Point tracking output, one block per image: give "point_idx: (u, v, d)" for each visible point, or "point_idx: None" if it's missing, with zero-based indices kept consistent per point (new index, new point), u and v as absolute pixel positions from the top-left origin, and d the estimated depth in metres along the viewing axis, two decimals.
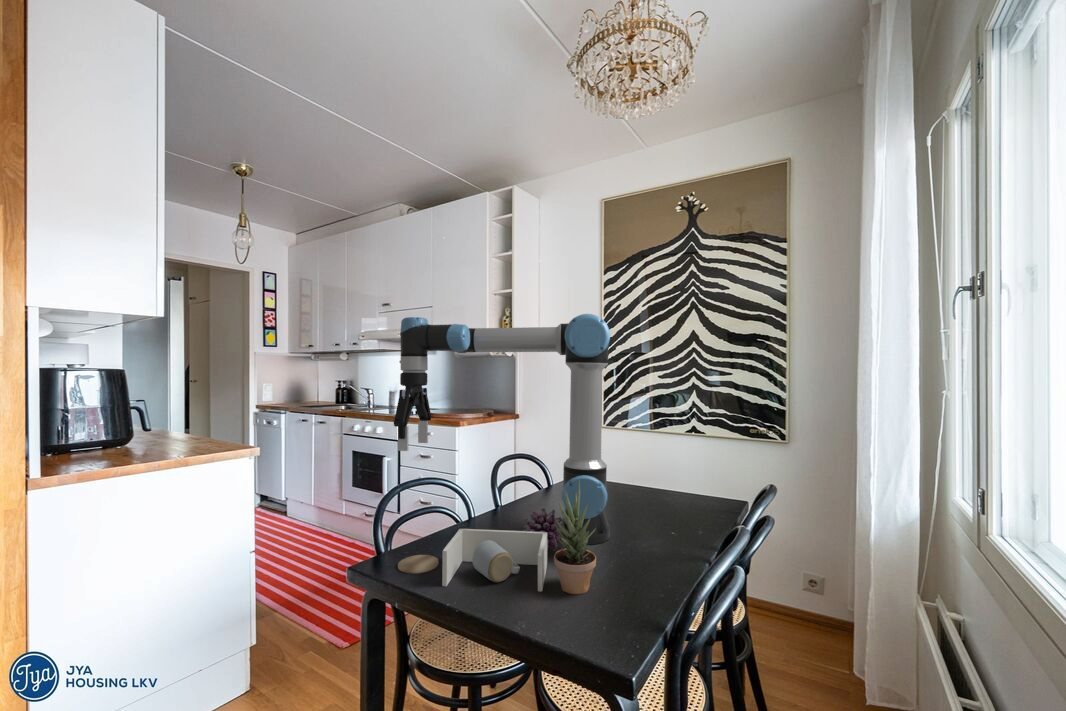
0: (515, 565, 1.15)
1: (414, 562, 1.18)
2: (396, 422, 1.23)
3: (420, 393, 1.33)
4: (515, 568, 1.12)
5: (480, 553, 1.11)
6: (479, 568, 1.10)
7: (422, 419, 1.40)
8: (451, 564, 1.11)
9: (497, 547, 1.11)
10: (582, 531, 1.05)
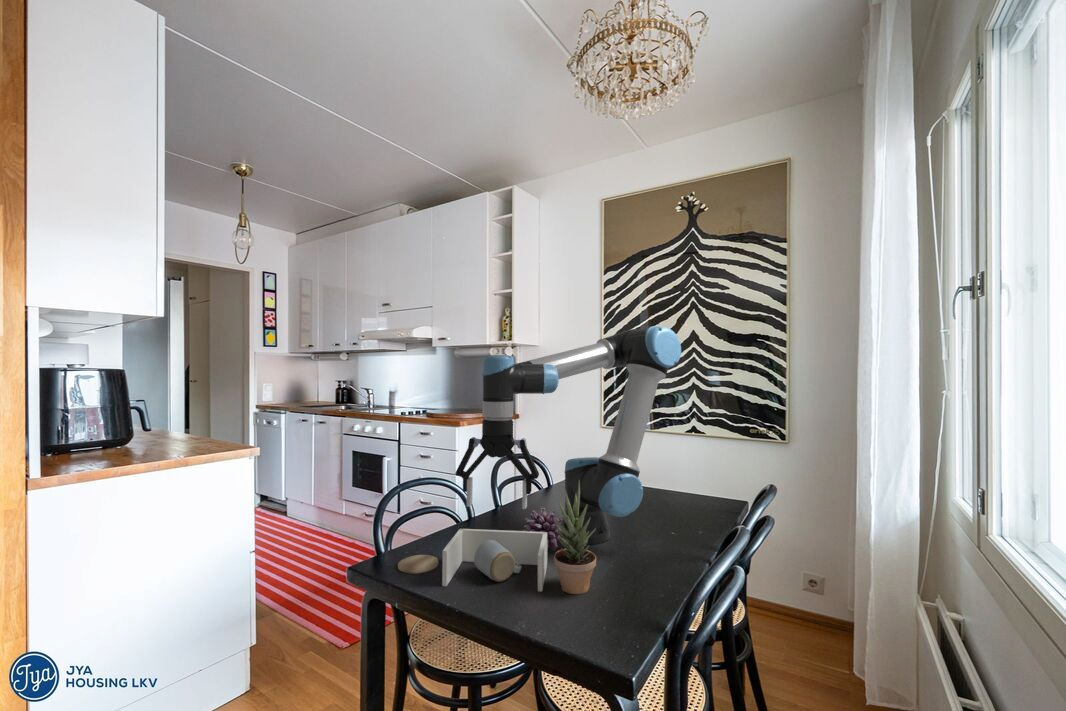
0: (517, 564, 1.16)
1: (414, 562, 1.18)
2: None
3: (499, 445, 1.12)
4: (517, 567, 1.12)
5: (482, 552, 1.11)
6: (481, 567, 1.10)
7: None
8: (451, 564, 1.11)
9: (499, 547, 1.12)
10: (582, 531, 1.05)
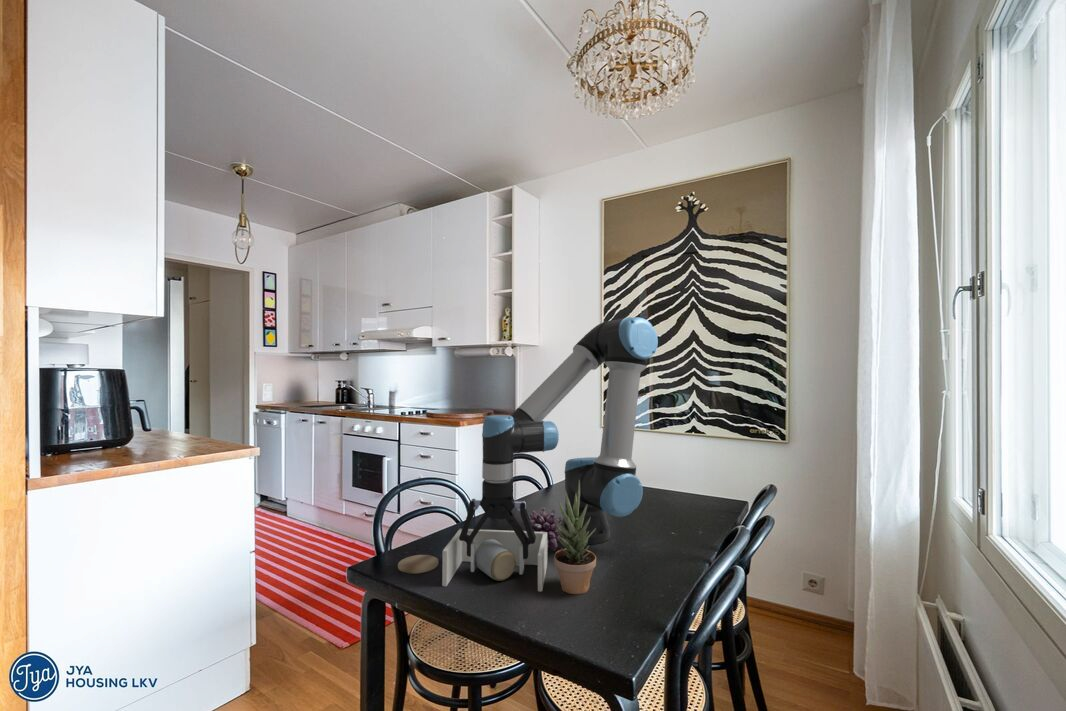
0: (517, 564, 1.16)
1: (414, 562, 1.18)
2: None
3: (499, 507, 1.11)
4: (517, 566, 1.12)
5: (483, 552, 1.11)
6: (482, 567, 1.10)
7: None
8: (451, 564, 1.11)
9: (499, 546, 1.12)
10: (582, 531, 1.05)
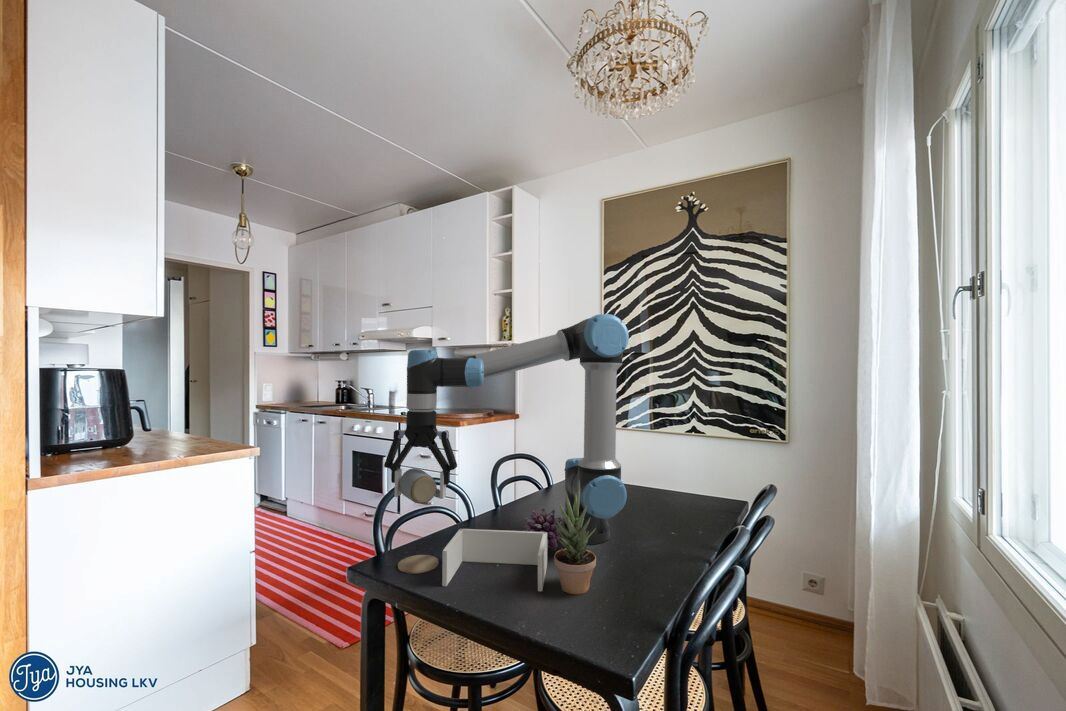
0: None
1: (414, 562, 1.18)
2: None
3: (422, 435, 1.17)
4: (439, 492, 1.18)
5: (405, 478, 1.17)
6: (404, 491, 1.16)
7: None
8: (451, 564, 1.11)
9: (422, 472, 1.18)
10: (582, 531, 1.05)
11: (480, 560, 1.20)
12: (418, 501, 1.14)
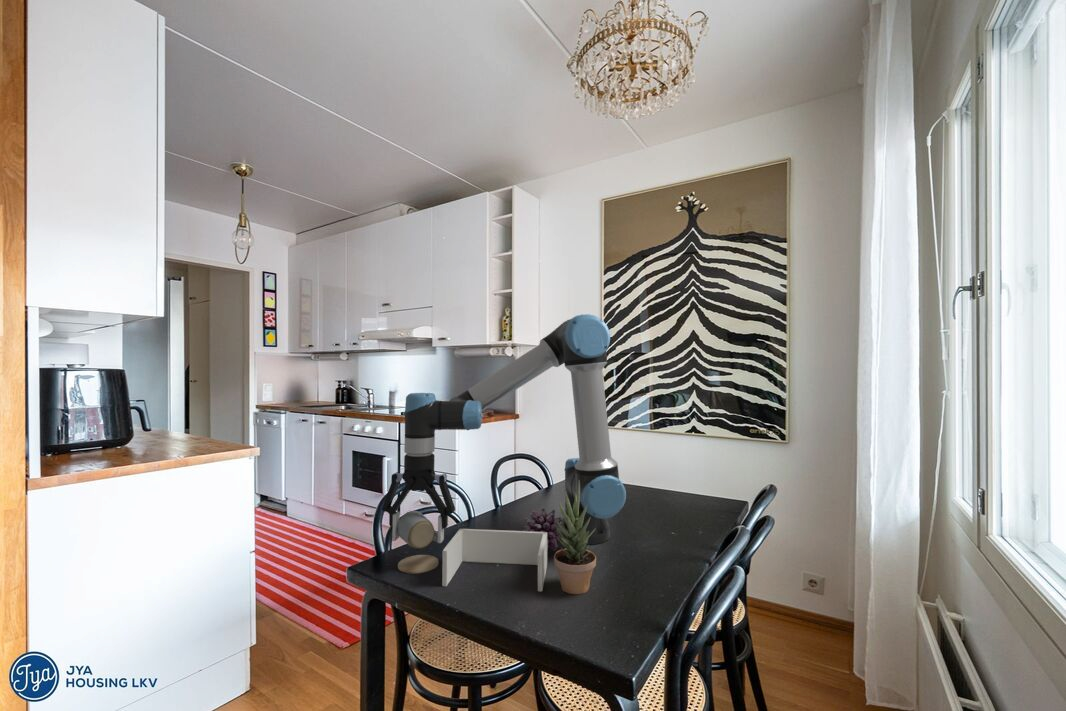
0: None
1: (414, 562, 1.18)
2: None
3: (420, 479, 1.17)
4: (437, 536, 1.18)
5: (403, 522, 1.17)
6: (402, 536, 1.16)
7: None
8: (451, 564, 1.11)
9: (420, 516, 1.18)
10: (582, 531, 1.05)
11: (480, 560, 1.20)
12: (416, 546, 1.14)
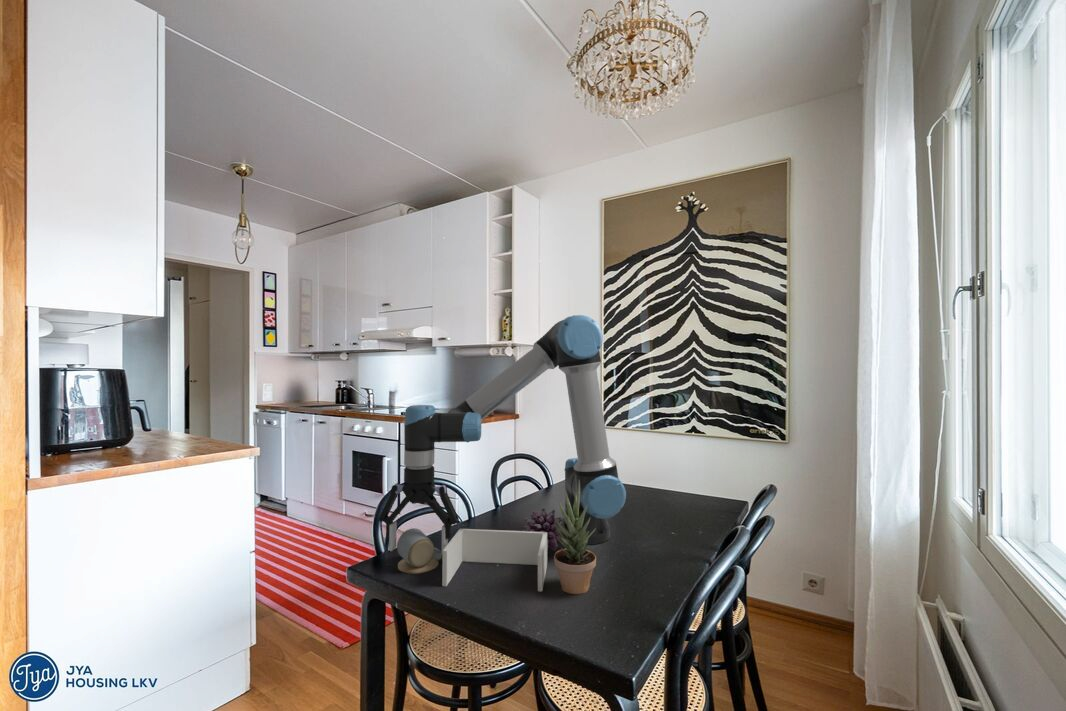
0: (439, 552, 1.22)
1: None
2: None
3: (419, 492, 1.17)
4: (437, 554, 1.18)
5: (403, 540, 1.17)
6: (401, 554, 1.16)
7: None
8: (451, 564, 1.11)
9: (419, 534, 1.18)
10: (582, 531, 1.05)
11: (480, 560, 1.20)
12: (416, 565, 1.14)
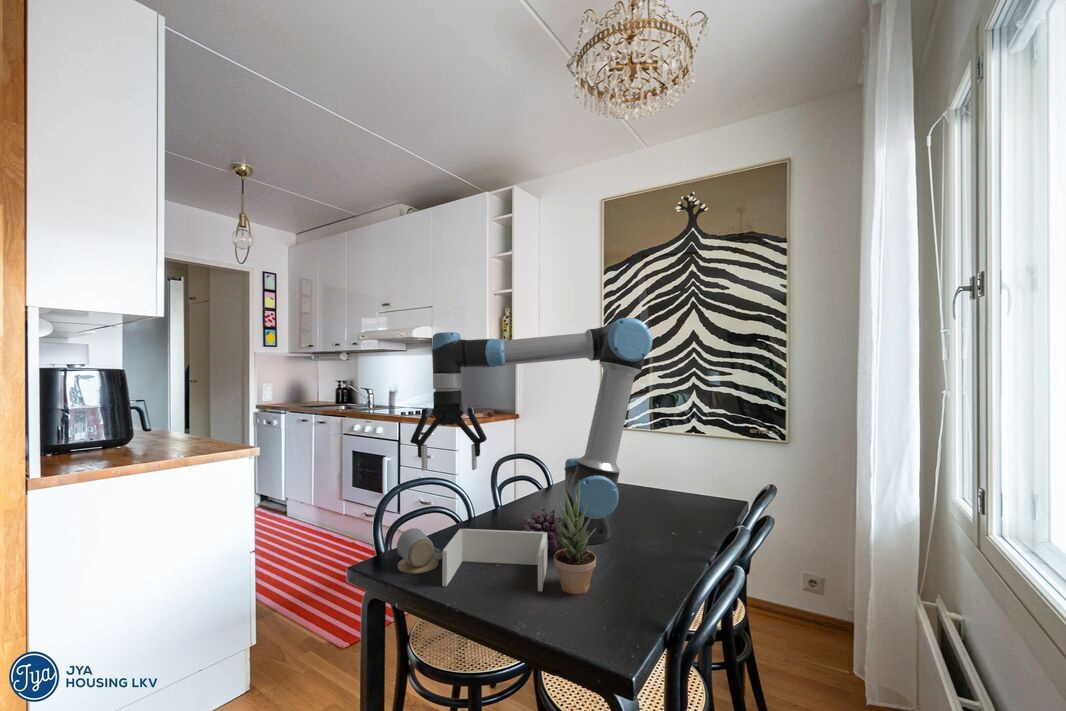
0: (439, 552, 1.22)
1: None
2: None
3: (449, 413, 1.24)
4: (437, 554, 1.18)
5: (403, 540, 1.17)
6: (401, 554, 1.16)
7: None
8: (451, 564, 1.11)
9: (419, 534, 1.18)
10: (582, 531, 1.05)
11: (480, 560, 1.20)
12: (416, 565, 1.14)
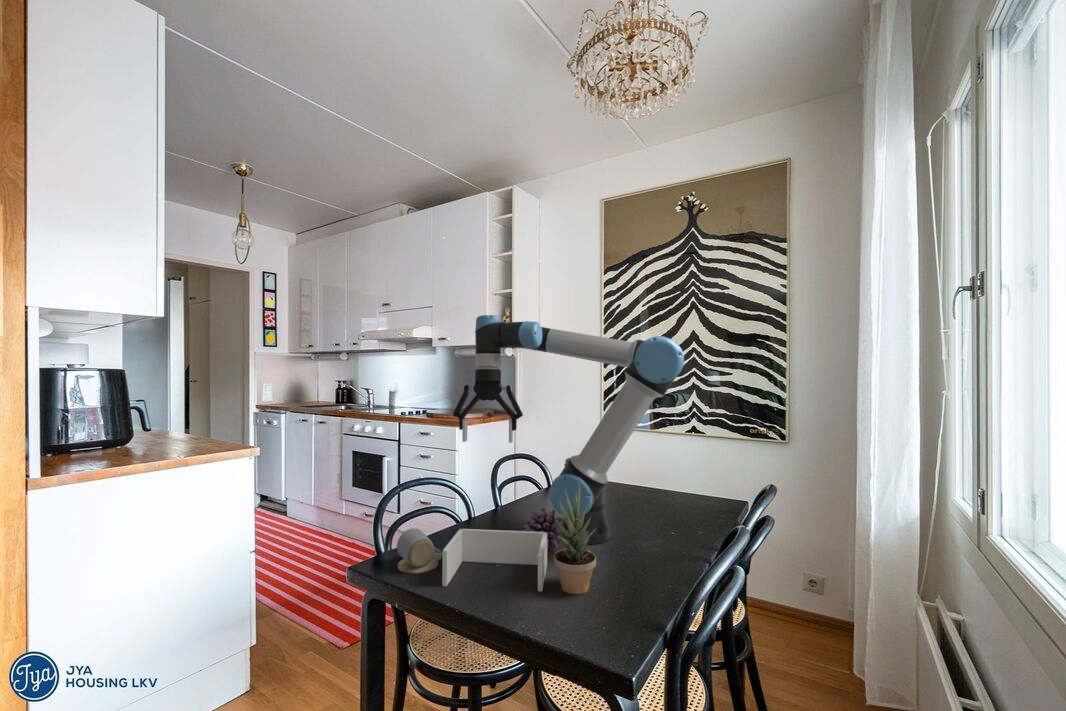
0: (439, 552, 1.22)
1: None
2: None
3: None
4: (437, 554, 1.18)
5: (403, 540, 1.17)
6: (401, 554, 1.16)
7: None
8: (451, 564, 1.11)
9: (419, 534, 1.18)
10: (582, 531, 1.05)
11: (480, 560, 1.20)
12: (416, 565, 1.14)
